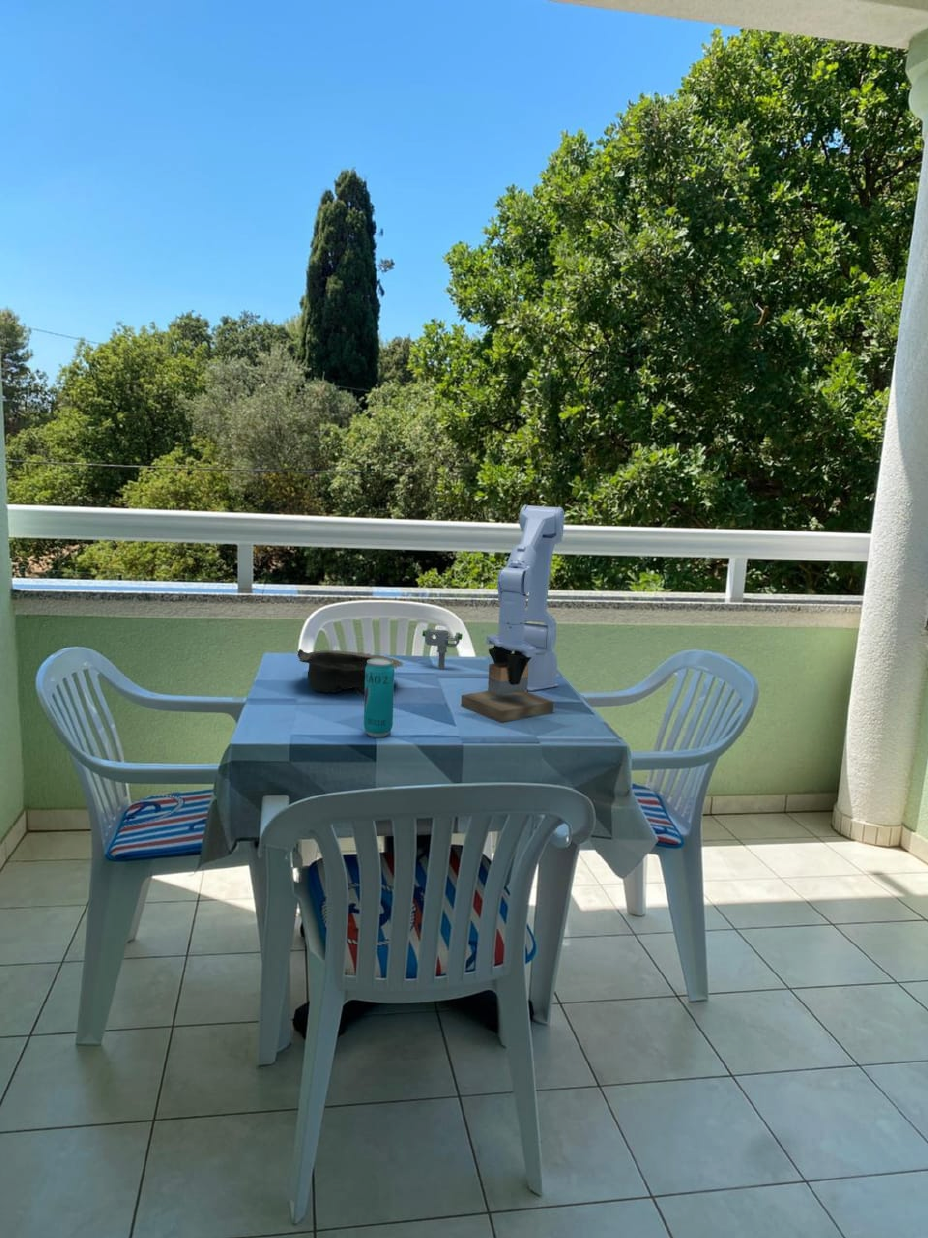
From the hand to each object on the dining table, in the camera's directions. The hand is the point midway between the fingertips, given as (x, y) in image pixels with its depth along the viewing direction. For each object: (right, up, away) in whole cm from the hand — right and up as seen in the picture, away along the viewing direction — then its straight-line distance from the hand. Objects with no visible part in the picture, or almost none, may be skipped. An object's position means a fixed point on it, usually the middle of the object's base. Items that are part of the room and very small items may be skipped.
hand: (508, 681), depth 202 cm
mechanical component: (-16, +1, +34) cm, 37 cm away
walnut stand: (0, -6, +1) cm, 6 cm away
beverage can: (-27, -9, -19) cm, 35 cm away
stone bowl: (-37, -2, +14) cm, 40 cm away
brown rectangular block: (0, -2, 0) cm, 2 cm away
